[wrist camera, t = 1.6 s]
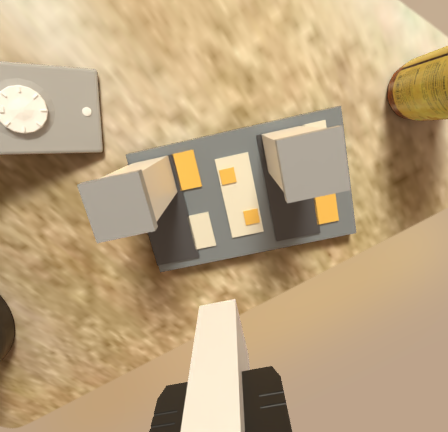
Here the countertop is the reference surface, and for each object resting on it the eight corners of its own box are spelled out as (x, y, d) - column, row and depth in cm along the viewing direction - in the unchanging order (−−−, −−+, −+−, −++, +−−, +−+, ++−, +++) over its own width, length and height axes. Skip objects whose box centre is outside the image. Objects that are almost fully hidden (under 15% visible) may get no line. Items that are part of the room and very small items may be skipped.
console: (163, 265, 42) (159, 274, 40) (130, 152, 38) (124, 155, 36) (350, 227, 40) (358, 234, 38) (335, 106, 37) (342, 105, 34)
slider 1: (140, 201, 37) (96, 243, 25) (129, 162, 36) (76, 184, 24) (179, 193, 37) (155, 231, 24) (169, 153, 36) (137, 171, 23)
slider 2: (266, 174, 36) (287, 203, 24) (259, 132, 35) (276, 140, 23) (307, 165, 36) (350, 190, 24) (301, 123, 35) (342, 125, 22)
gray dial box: (105, 153, 37) (-67, 157, 30) (96, 148, 42) (-52, 151, 35) (98, 68, 34) (-89, 52, 28) (90, 74, 39) (-70, 61, 33)
